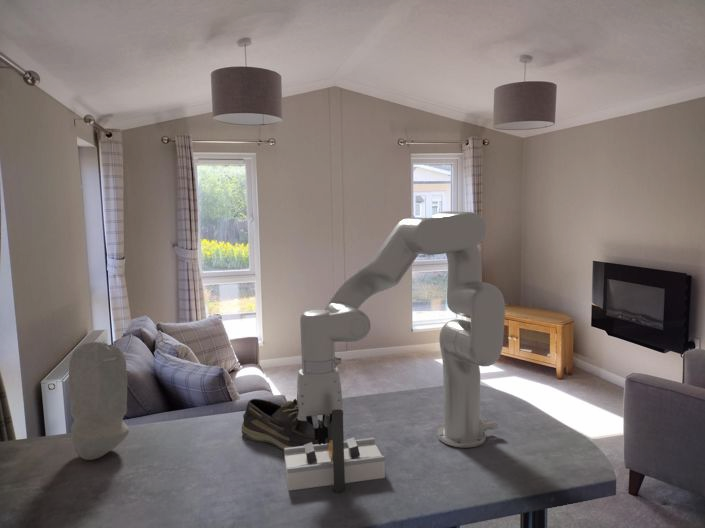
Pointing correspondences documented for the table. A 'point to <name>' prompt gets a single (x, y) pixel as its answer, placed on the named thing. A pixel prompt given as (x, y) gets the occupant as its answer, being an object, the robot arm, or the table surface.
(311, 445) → the grey block
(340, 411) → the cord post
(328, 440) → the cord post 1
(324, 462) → the breaker panel
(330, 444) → the rectangular block
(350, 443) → the grey block
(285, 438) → the boat shoe
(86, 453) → the sculpture
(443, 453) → the table surface
